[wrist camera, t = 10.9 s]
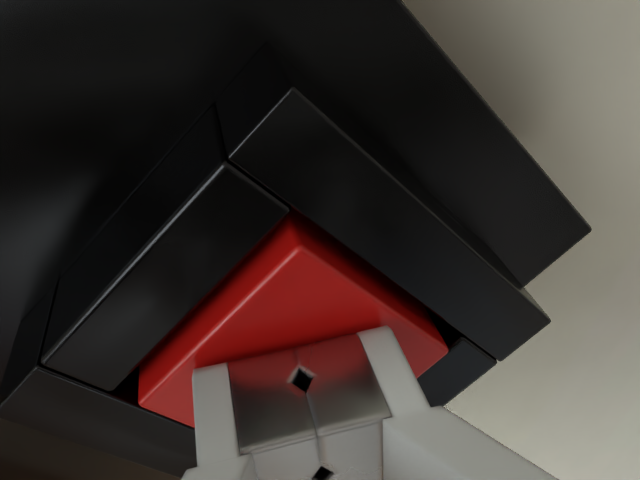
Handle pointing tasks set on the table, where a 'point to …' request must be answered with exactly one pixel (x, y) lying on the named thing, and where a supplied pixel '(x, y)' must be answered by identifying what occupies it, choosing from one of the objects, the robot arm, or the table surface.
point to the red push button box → (241, 191)
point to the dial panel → (61, 459)
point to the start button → (284, 313)
